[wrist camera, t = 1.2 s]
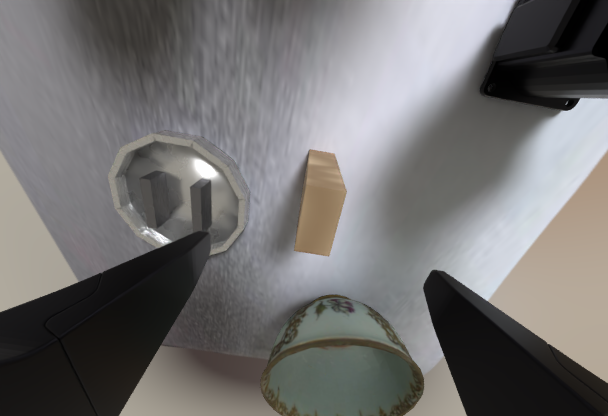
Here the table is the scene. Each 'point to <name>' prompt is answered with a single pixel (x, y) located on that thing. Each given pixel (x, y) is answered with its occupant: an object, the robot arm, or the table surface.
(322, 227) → the wooden plank
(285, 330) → the bowl
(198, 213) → the tin
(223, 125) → the table surface
